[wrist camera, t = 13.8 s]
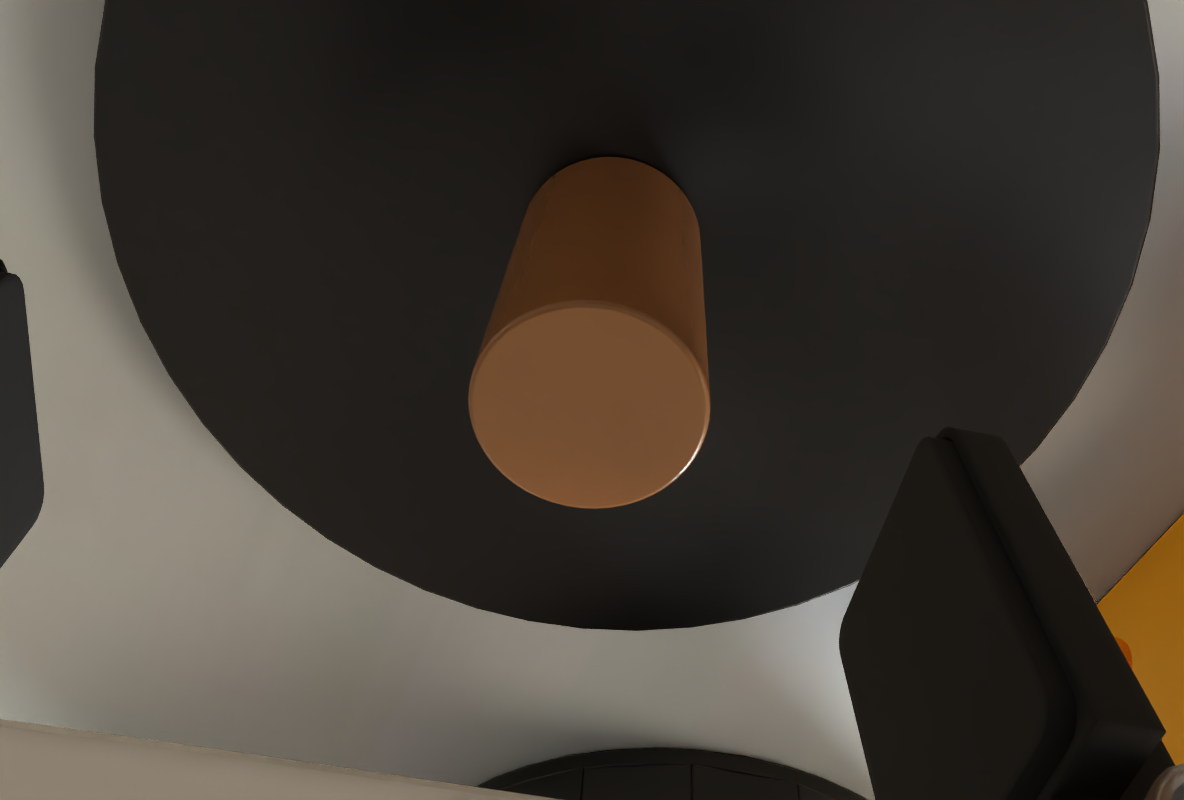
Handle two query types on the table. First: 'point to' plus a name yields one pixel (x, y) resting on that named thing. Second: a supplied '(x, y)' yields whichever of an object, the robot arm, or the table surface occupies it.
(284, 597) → the table surface
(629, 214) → the lid
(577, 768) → the pot
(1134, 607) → the orange stepped block
